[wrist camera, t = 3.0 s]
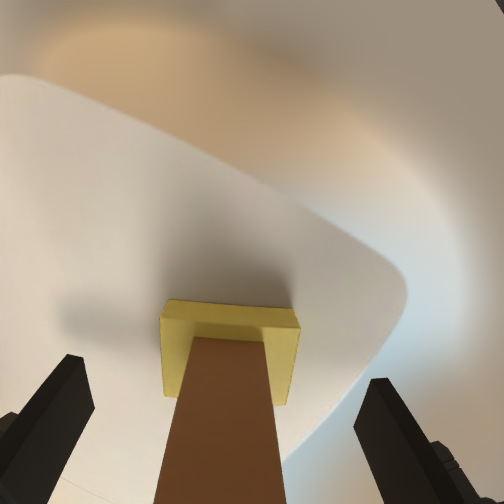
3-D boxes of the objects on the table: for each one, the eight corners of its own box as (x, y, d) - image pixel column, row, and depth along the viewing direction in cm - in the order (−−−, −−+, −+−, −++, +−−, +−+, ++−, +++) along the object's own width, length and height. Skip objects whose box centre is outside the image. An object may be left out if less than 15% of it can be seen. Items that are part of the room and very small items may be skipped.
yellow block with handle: (293, 308, 15) (370, 516, 4) (281, 382, 16) (317, 571, 5) (168, 298, 14) (71, 497, 4) (170, 374, 16) (119, 558, 5)
